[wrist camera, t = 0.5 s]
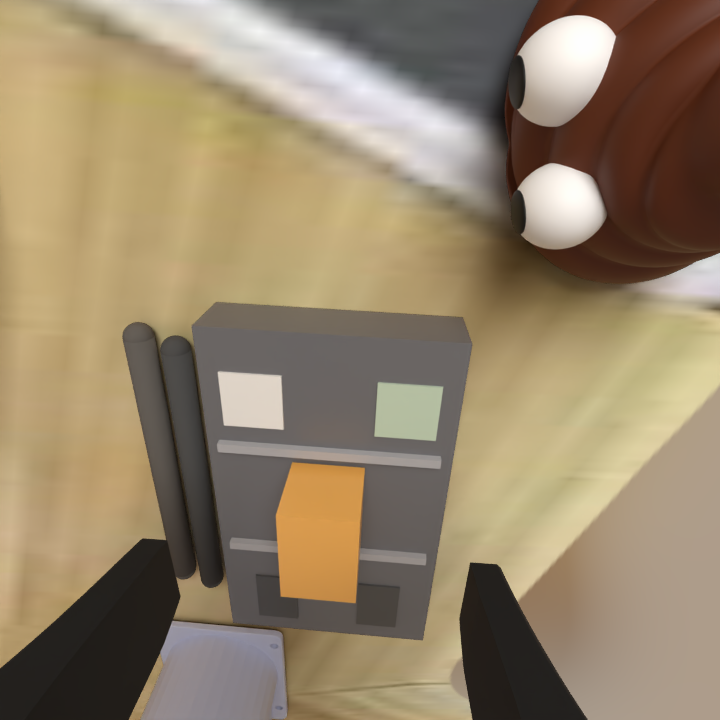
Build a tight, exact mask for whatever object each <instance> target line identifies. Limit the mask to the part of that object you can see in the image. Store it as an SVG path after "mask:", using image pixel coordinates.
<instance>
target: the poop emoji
mask: <svg viewBox="0 0 720 720" xmlns="http://www.w3.org/2000/svg"><path fill="white" fill-rule="evenodd" d="M505 124H506V130H507V136H508V140H509V148H508V153H507V162H506V181H507V187H508V193H509V198H510V201H511V220H512V224H513V226H514V229H515V230H516V232H517V233H519V234H521V235H522V236H523V237H524V238H525V239H526V240H527V241H529V242H530V243H532V245H533V246H534V247H535V248H536V249H537V250H538V251H539V252H540V253H541V254H542V255H543V256H544V257H545V258H546V259H547V260H549V261H550V262H551V263H553V264H554V265H556V266H557V267H559V268H560V269H562V270H564V271H566V272H568V273H570V274H572V275H575V276H577V277H580V278H583V279H587V280H591V281H595V282H601V283H610V284H628V283H637V282H644V281H649V280H653V279H657V278H660V277H663V276H666V275H669V274H671V273H674V272H676V271H678V270H681V269H683V268H685V267H687V266H689V265H691V264H693V263H694V262H696V261H699V260H702V259H705V258H708V257H711V256H713V255H716V254H718V253H720V0H539V1H538V3H537V5H536V6H535V8H534V10H533V12H532V14H531V16H530V18H529V20H528V22H527V24H526V26H525V28H524V31H523V33H522V35H521V38H520V40H519V43H518V46H517V49H516V52H515V55H514V58H513V61H512V63H511V67H510V71H509V79H508V84H507V91H506V100H505Z"/></svg>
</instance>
